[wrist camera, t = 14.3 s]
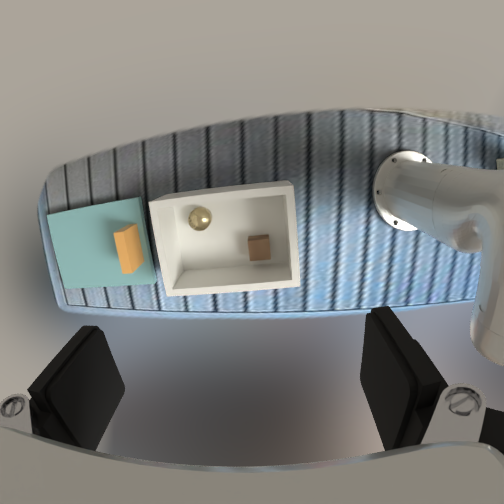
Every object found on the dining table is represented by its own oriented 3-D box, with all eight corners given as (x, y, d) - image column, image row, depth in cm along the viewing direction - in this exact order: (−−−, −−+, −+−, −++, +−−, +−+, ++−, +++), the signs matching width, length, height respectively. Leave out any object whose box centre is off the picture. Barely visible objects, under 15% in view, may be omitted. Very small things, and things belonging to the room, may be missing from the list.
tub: (287, 180, 43) (293, 185, 36) (294, 265, 47) (300, 286, 40) (167, 194, 44) (148, 202, 37) (180, 274, 48) (166, 296, 41)
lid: (144, 195, 45) (124, 203, 38) (159, 277, 49) (143, 297, 42) (55, 212, 46) (29, 222, 39) (72, 283, 50) (50, 300, 43)
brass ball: (210, 204, 44) (207, 207, 42) (213, 226, 45) (212, 229, 43) (188, 208, 44) (185, 210, 42) (193, 229, 45) (190, 232, 43)
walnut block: (268, 234, 45) (269, 238, 42) (270, 253, 46) (271, 259, 43) (248, 236, 45) (247, 240, 43) (250, 255, 46) (249, 261, 44)
